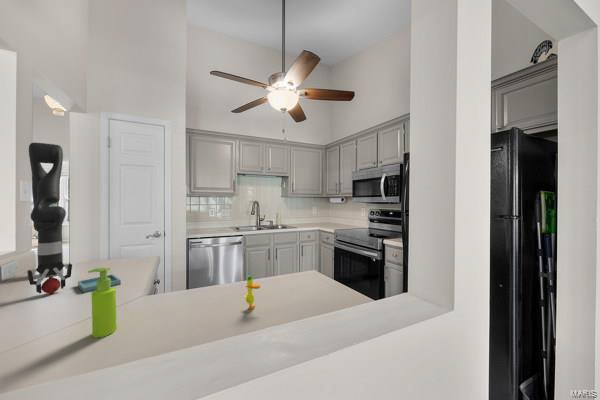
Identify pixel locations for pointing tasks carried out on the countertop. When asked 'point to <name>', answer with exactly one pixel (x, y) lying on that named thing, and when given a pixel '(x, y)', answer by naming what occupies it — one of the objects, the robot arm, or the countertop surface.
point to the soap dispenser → (103, 305)
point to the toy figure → (250, 291)
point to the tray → (92, 283)
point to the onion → (50, 285)
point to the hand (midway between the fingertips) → (51, 290)
